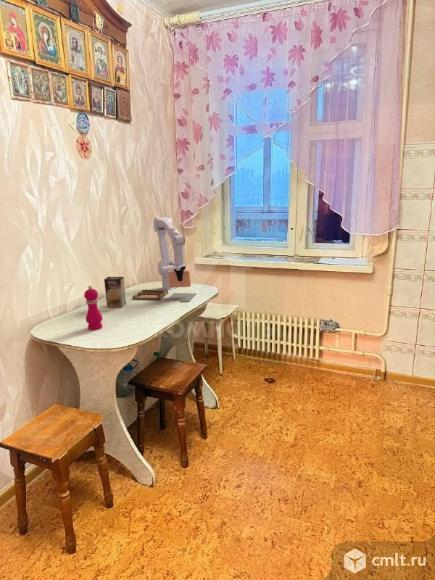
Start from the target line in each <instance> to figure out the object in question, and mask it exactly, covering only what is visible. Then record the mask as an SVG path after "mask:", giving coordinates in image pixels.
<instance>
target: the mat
mask: <svg viewBox="0 0 435 580" xmlns="http://www.w3.org/2000/svg"><path fill="white" fill-rule="evenodd" d="M196 294H197V295H198V293H197V292H196V293H195V292H193V293H191V292H187V293H186V292H174V293H172V294H171V295H170V296H169V297H167V298H166V299H165V302H167V301H168V302H169V301H170V302H179V303H190V302H191V301H192V300H193V299H194V298H195V297H196V296H197V295H196ZM195 295H196V296H195ZM194 296H195V297H194ZM193 297H194V298H193ZM192 298H193V299H192ZM191 299H192V300H191ZM190 300H191V301H190Z"/></svg>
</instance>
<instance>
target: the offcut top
mask: <svg viewBox="0 0 435 580" xmlns="http://www.w3.org/2000/svg"><path fill="white" fill-rule="evenodd" d="M138 298H158V296H153V295H141V296H140V297H138Z"/></svg>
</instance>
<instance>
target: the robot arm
mask: <svg viewBox="0 0 435 580" xmlns="http://www.w3.org/2000/svg"><path fill="white" fill-rule="evenodd" d="M172 223H173V221H172V217H170V216H163V217H162V216H161V217H154V218H153V229H154V232H155V233H156V234H157V236H158V237H157V238H158V244H159V250H160V255H161V256H160V257H161V260H160V261H159V262H158V264H157V269H158V270H157V271H158V274H159V276H161V284H162V287H161V289H159V290H168V291H173V290H175V289H176V288H177V287H173V288H169V279H168V271H175V273H176V275H177V279H178V281H182V279H183V272H184V270H186V263H185V262H186V260H185V247H184V246H185V243H186V238H185V235H184V234H183V233H180V232H179V231H178V230H177V228H175V227H173V224H172ZM167 235H168V237H169V239H170V241H171V246H172V250H173V260H172V259H171V257H170V252H169V246H168V241H167V240H168V239H167Z"/></svg>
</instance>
